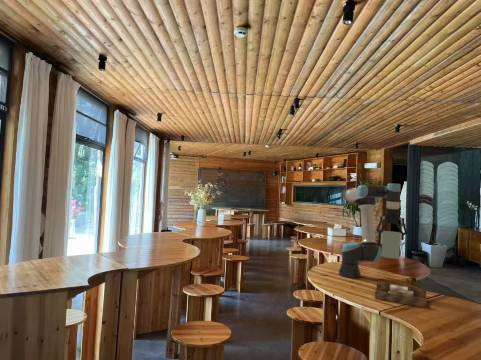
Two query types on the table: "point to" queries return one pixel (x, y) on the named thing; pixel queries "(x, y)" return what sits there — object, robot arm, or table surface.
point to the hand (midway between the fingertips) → (390, 244)
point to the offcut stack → (400, 290)
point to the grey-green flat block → (390, 244)
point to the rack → (416, 300)
